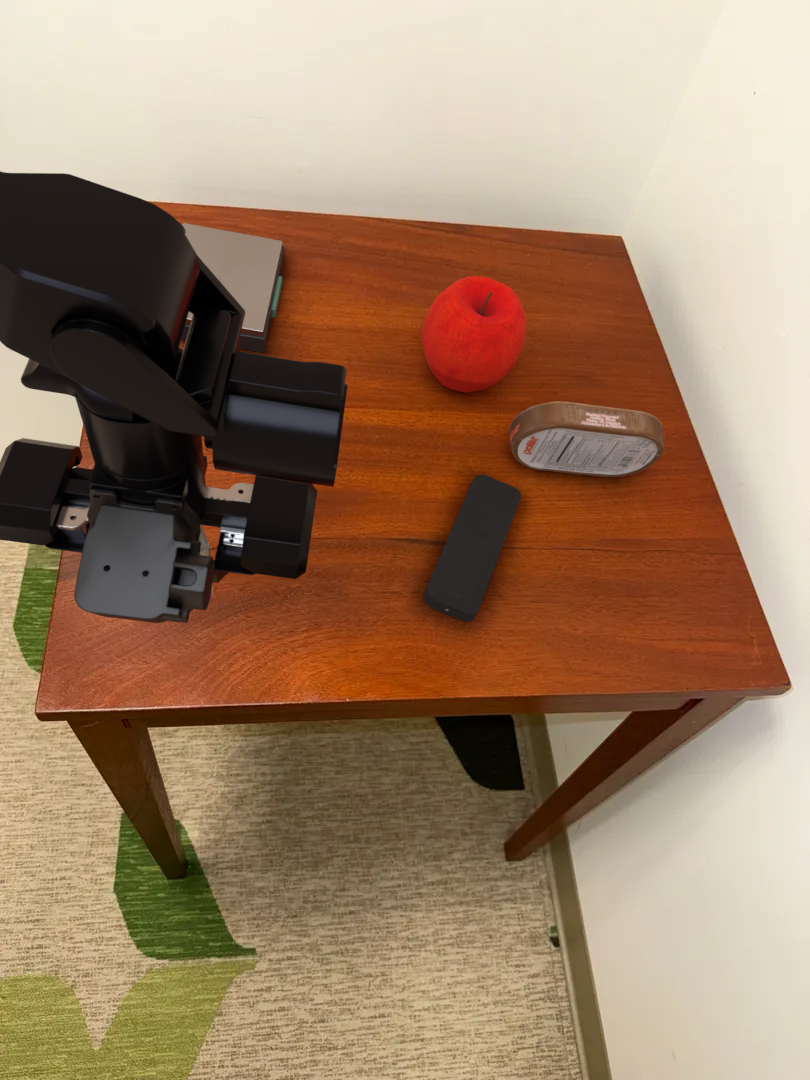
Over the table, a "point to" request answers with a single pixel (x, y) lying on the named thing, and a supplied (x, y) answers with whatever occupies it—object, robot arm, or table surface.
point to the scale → (243, 276)
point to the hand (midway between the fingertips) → (171, 570)
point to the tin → (586, 439)
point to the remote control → (472, 548)
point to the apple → (473, 333)
